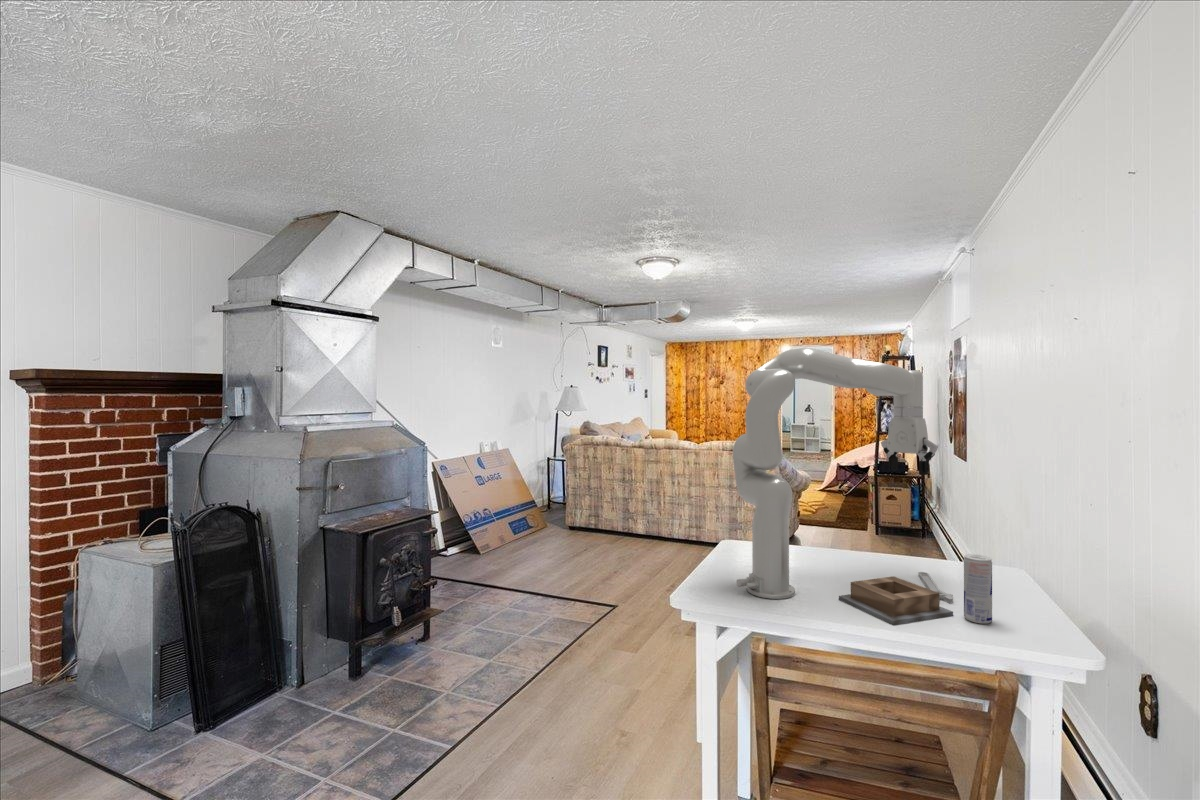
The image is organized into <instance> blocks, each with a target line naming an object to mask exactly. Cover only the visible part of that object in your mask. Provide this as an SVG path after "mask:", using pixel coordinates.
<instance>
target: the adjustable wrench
mask: <svg viewBox="0 0 1200 800" xmlns="http://www.w3.org/2000/svg"><path fill="white" fill-rule="evenodd" d="M918 578H919V579H920V581H921V582H922V583H923V585H924V587H925V588H927V589H930V590H932V591H935V592H938V593H940V601H942V600H943V601H944V602H945V603H947V604H949V605H953V604H954V595H953V594H951V593H948V592H944V591H942V590H940V589H939V587H938V586H937V584H936V583H935V581H934V580H933V578H932V577H931V575H930V574H929V573H928V572H925V571H920V572H918Z"/></svg>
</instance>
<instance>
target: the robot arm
mask: <svg viewBox="0 0 1200 800" xmlns="http://www.w3.org/2000/svg"><path fill="white" fill-rule="evenodd" d="M800 379H802V380H803V379H804V380H809V381H813V382H818V383H822V384H824V385H825V384H827V385H829V386H834V387H837V388H838V387H839V388H845V389H865V390H866V392H867V393H869V394H870V395H872V396H877V397H893V408H891V410H890V414H893V417H890V422H889V424H888V433H887V438H886V439H884V440H882V441H880V444H881V447H882V449H883V452H884V453H885V455H886V458H888V471H889V472H898V471H899V457H898V454H899V453H901V454H911V455H913V454H914V455H915V454H916V455H917V456H918V458H919V459H920V460H919V461H918V469H919V470H918V475H919V476H928V475H929V473H930V461H932V458H933V457H934V456H936V453H937V451H938V448H939V446H938V445H937V444H935V443H934V442H932V441H931V440H929V436H928V435H929V434H928V428H927V427H928V426H927V421H926V419H925V418H924V375H923V372H922V371H920V370H914V369H912V370H911V369H910V370H908V369H906V368H904V367H900V366H896V365H892V364H889V363H883V362H877V361H873V360H872V361H871V360H864V359H860V358H854V357H853V358H852V357H847V356H844V355H840V354H835V353H832V352H827V351H825V350H824V351H823V350H820V349H816V348H811V347H801V348H794V349H793V348H792V349H788V350H785V351H783V352H781V353H780V354H778V355H777V356H775V357H773V358H772V359H770V360H769V361H767V362H765V363H764V364H763V365H761V366H759V367H757V368H756V369H755V370H753V371H752V372H751V373H750V374H748V376H747V378H746V381H745V391H746V393H747V394H748V395H749V396H750V398H749V400H748V402H747V405H746V409H745V416H744V417H745V429H746V430H745V432H746V433H743V434H741V435H739V436H738V438H736V440H735V441H734V444H733V448H732V460H733V469H734V475H735V484H736V488H737V493H738V495H739V496H740V497H741V500H743V501H745V502H746V503H748V504H750V505H753V506H755V511H754V514H753V518H752V525H751V531H752V532H751V534H752V550H751V551H752V553H751V554H752V555H751V556H752V563H751V564H752V565H751V566H752V567H751V568H752V573H748V576H747V577H746V578H739V579H736V582H735V583H736V586H737V587H738V588H740V587H746V590H747V592H748V593H749V594H751V595H753V596H755V597H759V598H764V599H769V600H770V599H771V600H772V599H773V600H781V599H782V600H784V599H789V598H792V597H793V596H795V595H796V588H795V587H794V586H793V585H791V584H790V532H789V531H790V516H791V515H790V514H791V510H792V509H791V508H792V503H793V490H792V487H791V485H790V483H789V482H788V481H787V480H786V479H785V478H783V477H781V476H779V475H777V474H772V473H768V472H767V471H770V470H775V469H777V468H778V467H779V466H780V465H781V463H782V459H783V449H782V442H781V436H780V435H781V433H780V426H779V413H780V410H781V407H782V405H783V404H784V403H785V401H786V400H787V399H788V398H789V397H790V396H791V394H792V393H793V391H794V389H795V386H796V380H800Z"/></svg>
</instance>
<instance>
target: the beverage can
mask: <svg viewBox="0 0 1200 800" xmlns="http://www.w3.org/2000/svg"><path fill="white" fill-rule="evenodd" d="M992 560H993V558H992V557H990V556H987V555H982V554H973V553H966V554H964V555H963V617H964V618H965V619H966V620H967V621H969V622H972V623H975V624H980V625H982V624H983V625H985V624H986V625H987V624H990V623H991V622H992V621H993V562H992Z"/></svg>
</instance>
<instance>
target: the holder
mask: <svg viewBox="0 0 1200 800" xmlns="http://www.w3.org/2000/svg"><path fill="white" fill-rule="evenodd" d="M838 600H839V601H841V602H843V603H845V604H847V605H849V606H851V607H854V608H856V609H857V610H859V611H862V612H864V613H866V614H868V615H870V616H873V617H875V618H877V619H879V620H881V621H882V622H886V624H889V625H891V624H892V626H898V625H903V624H910V623H916V622H923V621H929V620H934V619H940V618H942V619H943V618H947V617H953V616H954V611H953V610H950V609H949V608H945V607H943V606H940V605H941V603H940V601H941V600H940V593H938V592H935V591H932V590H930V589H927V588H926V587H925V586H921V585H919V584H916V583H913V582H911V581H907V580H905V579H902V578H900V577H897V576H889V577H888V576H887V577H880V578H879V577H878V578H871V579H862V580H855V581H850V594H841V595H838Z"/></svg>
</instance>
